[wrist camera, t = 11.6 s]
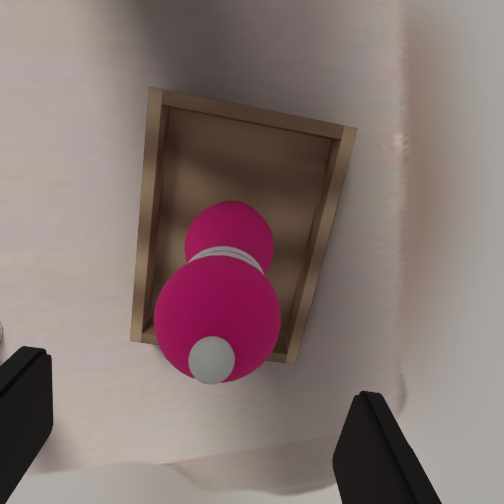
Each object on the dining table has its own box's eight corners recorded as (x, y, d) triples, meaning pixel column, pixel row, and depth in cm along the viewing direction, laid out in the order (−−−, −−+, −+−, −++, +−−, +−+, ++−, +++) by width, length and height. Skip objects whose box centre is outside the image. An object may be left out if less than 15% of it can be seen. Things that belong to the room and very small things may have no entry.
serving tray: (162, 94, 28) (149, 86, 24) (342, 130, 29) (357, 128, 25) (142, 319, 35) (130, 341, 31) (290, 341, 36) (295, 364, 32)
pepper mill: (286, 230, 31) (350, 367, 12) (235, 283, 32) (220, 479, 13) (228, 178, 29) (194, 238, 10) (177, 236, 31) (67, 382, 12)
